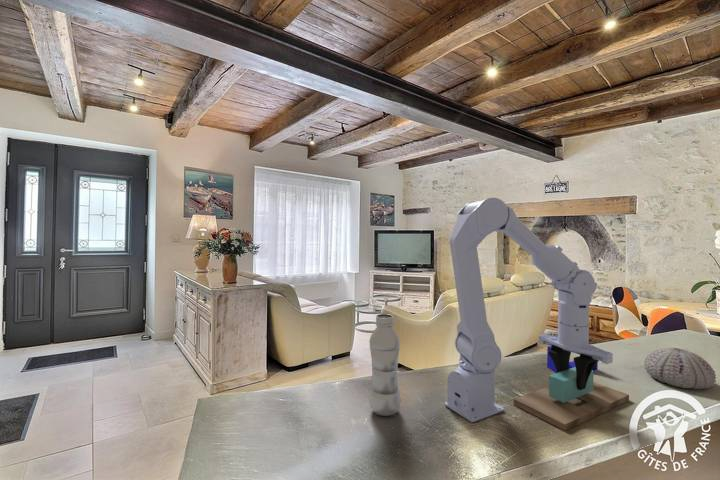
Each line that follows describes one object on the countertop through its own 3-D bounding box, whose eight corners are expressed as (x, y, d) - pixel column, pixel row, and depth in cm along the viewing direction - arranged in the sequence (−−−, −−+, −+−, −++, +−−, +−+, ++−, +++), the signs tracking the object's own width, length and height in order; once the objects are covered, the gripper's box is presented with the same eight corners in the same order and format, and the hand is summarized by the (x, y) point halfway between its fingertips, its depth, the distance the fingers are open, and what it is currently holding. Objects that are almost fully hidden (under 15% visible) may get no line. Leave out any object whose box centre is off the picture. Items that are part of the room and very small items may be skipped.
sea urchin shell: (732, 391, 80) (733, 357, 80) (685, 396, 78) (685, 361, 77) (671, 368, 93) (672, 339, 93) (629, 372, 91) (630, 342, 90)
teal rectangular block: (563, 402, 70) (564, 381, 70) (549, 396, 73) (549, 375, 73) (593, 390, 76) (593, 370, 75) (578, 385, 78) (578, 365, 78)
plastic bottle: (375, 422, 67) (375, 321, 66) (365, 405, 73) (365, 313, 73) (405, 417, 68) (405, 319, 68) (393, 401, 75) (393, 311, 74)
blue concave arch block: (557, 374, 89) (557, 351, 89) (547, 367, 94) (547, 346, 94) (601, 373, 90) (601, 351, 90) (589, 366, 94) (589, 345, 94)
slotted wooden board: (564, 430, 64) (565, 398, 64) (513, 404, 74) (513, 376, 73) (630, 399, 76) (630, 372, 75) (578, 380, 85) (579, 356, 85)
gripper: (620, 329, 70) (619, 394, 70) (551, 314, 82) (551, 369, 83) (602, 334, 66) (601, 403, 67) (533, 317, 79) (532, 375, 79)
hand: (572, 385), depth 74 cm, fingers closed on teal rectangular block, 3 cm apart
